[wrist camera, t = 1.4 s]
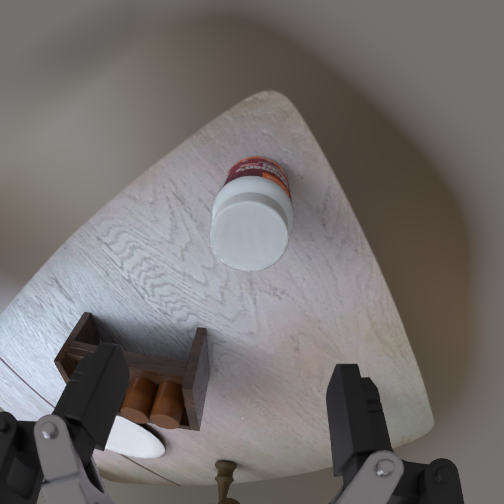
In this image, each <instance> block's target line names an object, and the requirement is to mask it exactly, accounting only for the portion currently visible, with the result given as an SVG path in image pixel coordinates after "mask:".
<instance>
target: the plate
mask: <svg viewBox="0 0 504 504" xmlns="http://www.w3.org/2000/svg"><path fill="white" fill-rule="evenodd" d="M105 448H106V449H109V450H111V451H114V452H116V453H119V454H123V455H126V456H130V457H136V458H146V459H150V458H157V457H159V456H162V455H163V453H164V452H165V448H164V445H163V444H162V442H161V441H160V440H159V438H157V437H156V436H155V435H154V434H152V433H151V432H150V431H149V430H147V429H145V428H144V427H142V426H141V425H139V424H137V423H135V422H133V421H131V420H129V419H127V418H124V417H120V416H116V418H115V421H114V424H113V426H112V429H111V432H110V435H109V438H108V440H107V443H106V446H105Z"/></svg>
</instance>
